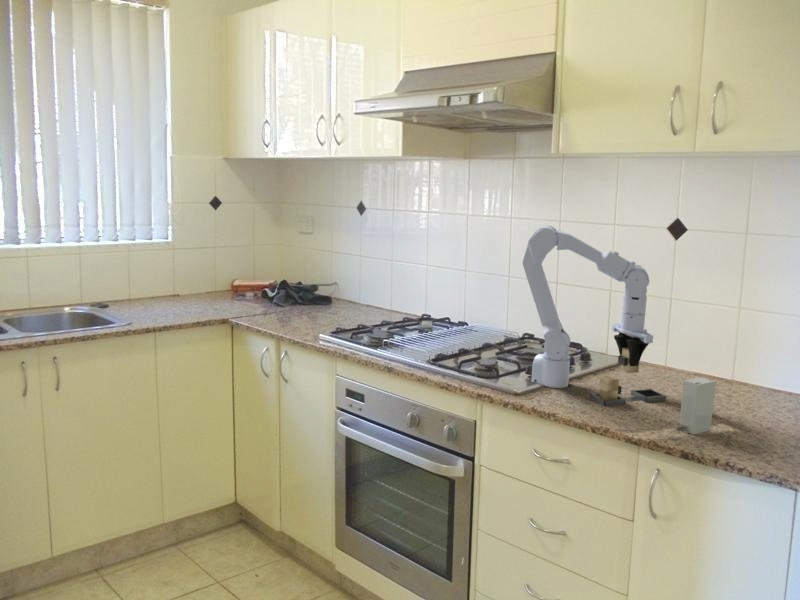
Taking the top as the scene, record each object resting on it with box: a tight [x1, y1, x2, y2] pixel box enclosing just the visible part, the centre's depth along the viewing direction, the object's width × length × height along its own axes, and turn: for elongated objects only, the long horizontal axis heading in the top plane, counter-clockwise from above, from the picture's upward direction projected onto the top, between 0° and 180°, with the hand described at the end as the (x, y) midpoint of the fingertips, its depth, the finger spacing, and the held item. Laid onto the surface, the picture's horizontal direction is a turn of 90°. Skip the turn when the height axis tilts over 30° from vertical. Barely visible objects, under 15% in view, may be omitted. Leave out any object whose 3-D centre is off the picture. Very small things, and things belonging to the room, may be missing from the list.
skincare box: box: [678, 376, 717, 435], centre depth 162 cm, size 6×4×12 cm
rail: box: [590, 388, 667, 407], centre depth 180 cm, size 18×6×3 cm, turn 108°
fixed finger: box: [598, 375, 623, 400], centre depth 178 cm, size 4×3×6 cm
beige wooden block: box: [617, 348, 640, 374], centre depth 185 cm, size 4×3×6 cm
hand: (629, 363), depth 185 cm, fingers closed on beige wooden block, 3 cm apart
